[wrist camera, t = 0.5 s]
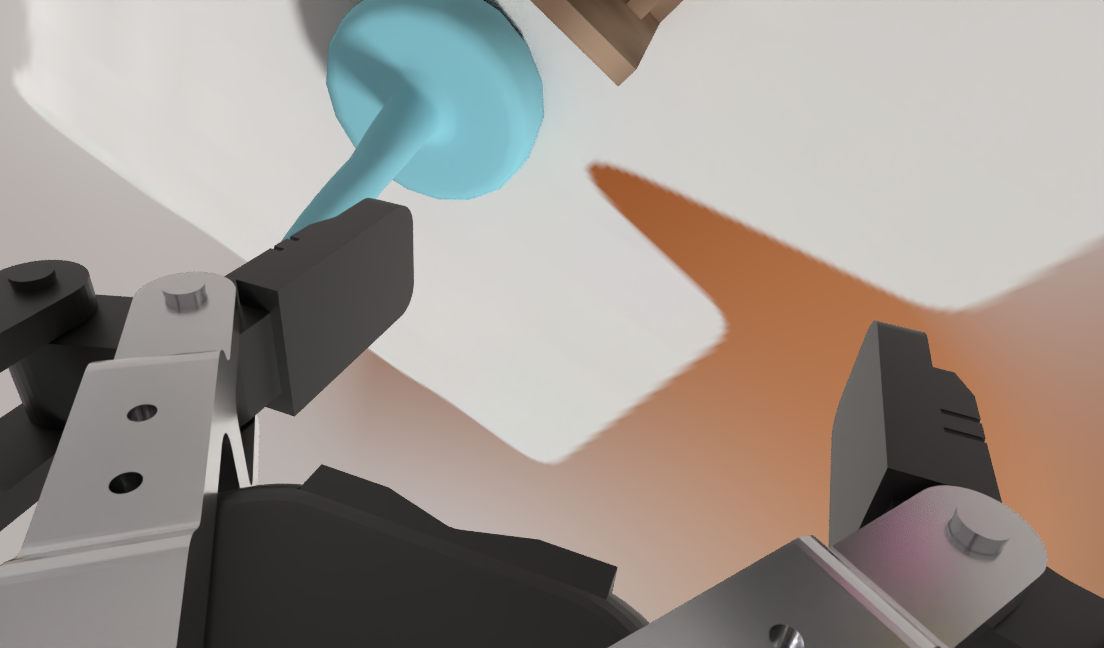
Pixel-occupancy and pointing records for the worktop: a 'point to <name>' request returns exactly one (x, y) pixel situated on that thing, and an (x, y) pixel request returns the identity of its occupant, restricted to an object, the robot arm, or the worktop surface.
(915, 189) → the worktop surface
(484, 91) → the blue towel holder stand
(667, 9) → the roll cradle
